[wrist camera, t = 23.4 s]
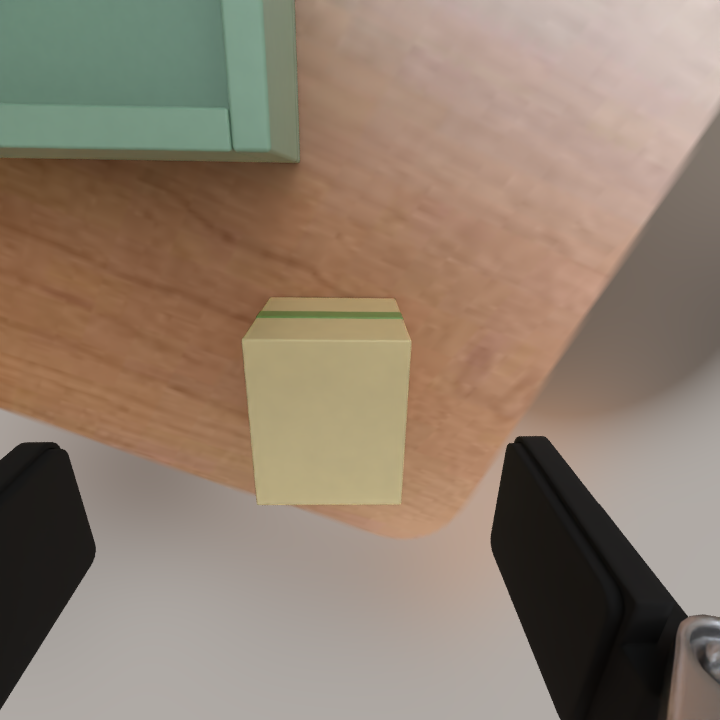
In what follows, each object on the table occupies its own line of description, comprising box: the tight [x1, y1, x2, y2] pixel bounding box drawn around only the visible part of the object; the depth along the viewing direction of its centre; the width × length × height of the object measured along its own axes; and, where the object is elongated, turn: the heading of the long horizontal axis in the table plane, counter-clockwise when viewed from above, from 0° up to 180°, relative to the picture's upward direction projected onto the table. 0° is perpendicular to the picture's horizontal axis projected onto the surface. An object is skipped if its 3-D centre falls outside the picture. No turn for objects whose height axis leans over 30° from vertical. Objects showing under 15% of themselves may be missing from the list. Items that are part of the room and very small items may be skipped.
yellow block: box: [242, 297, 411, 505], centre depth 15 cm, size 5×6×5 cm
